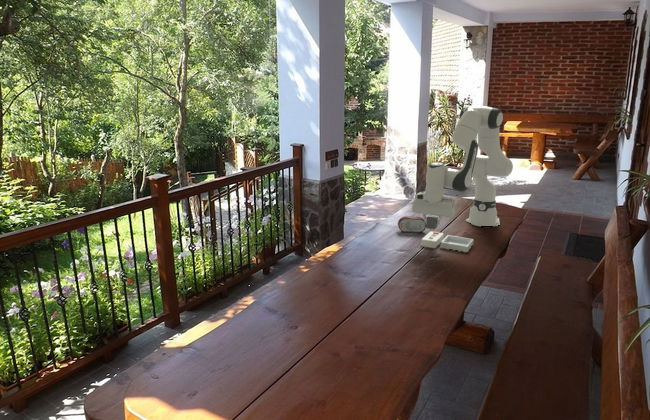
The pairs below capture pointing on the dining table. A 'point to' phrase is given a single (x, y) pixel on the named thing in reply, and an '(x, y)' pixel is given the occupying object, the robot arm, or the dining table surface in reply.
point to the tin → (412, 224)
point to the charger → (431, 222)
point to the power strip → (432, 239)
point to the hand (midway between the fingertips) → (432, 223)
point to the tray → (456, 243)
